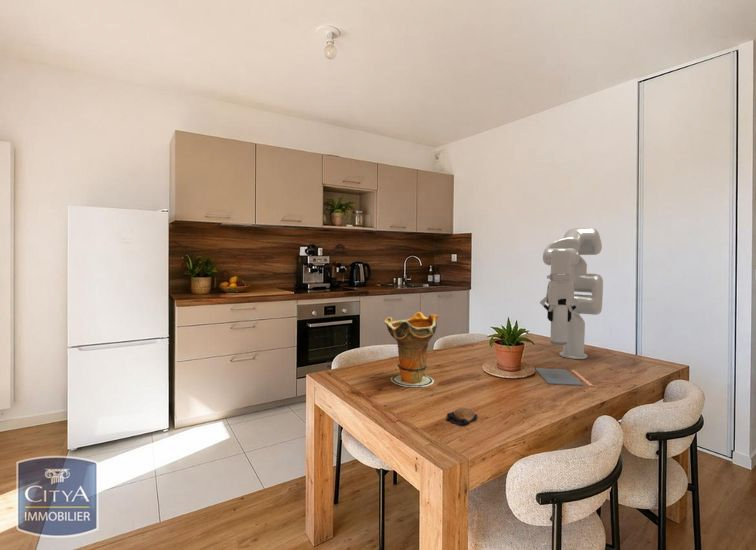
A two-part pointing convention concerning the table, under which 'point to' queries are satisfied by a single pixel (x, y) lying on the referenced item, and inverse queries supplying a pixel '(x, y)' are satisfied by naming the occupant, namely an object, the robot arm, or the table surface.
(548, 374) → the mat
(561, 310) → the travel mug
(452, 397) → the table surface
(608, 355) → the table surface
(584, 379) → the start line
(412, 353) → the decorative vase
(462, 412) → the brown black rock
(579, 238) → the robot arm
